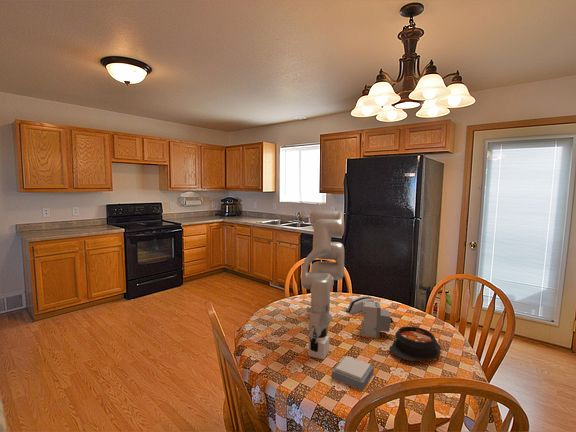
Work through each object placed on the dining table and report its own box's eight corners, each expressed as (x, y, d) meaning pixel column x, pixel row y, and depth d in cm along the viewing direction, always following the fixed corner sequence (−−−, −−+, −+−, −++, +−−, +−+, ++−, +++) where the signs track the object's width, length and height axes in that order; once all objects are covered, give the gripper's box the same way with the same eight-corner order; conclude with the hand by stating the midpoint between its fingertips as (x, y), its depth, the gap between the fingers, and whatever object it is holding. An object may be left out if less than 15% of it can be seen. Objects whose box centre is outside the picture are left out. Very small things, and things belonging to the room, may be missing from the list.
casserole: (414, 335, 146) (415, 319, 146) (451, 354, 131) (453, 335, 130) (378, 349, 133) (379, 331, 132) (415, 372, 118) (417, 351, 117)
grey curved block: (367, 306, 183) (371, 292, 179) (372, 311, 179) (376, 297, 175) (345, 310, 175) (349, 297, 171) (349, 316, 171) (354, 302, 167)
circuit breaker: (392, 339, 142) (394, 309, 141) (361, 336, 145) (363, 306, 144) (390, 332, 150) (392, 303, 148) (361, 329, 153) (362, 300, 151)
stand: (331, 378, 113) (332, 368, 112) (344, 363, 123) (344, 353, 122) (362, 390, 106) (363, 380, 106) (373, 373, 116) (374, 363, 116)
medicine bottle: (329, 351, 131) (329, 325, 130) (323, 360, 125) (324, 332, 123) (313, 347, 134) (314, 322, 133) (307, 355, 128) (308, 328, 126)
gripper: (321, 298, 137) (320, 335, 138) (301, 311, 122) (300, 352, 124) (336, 302, 132) (335, 340, 134) (317, 316, 118) (316, 358, 120)
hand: (318, 346), depth 129 cm, fingers closed on medicine bottle, 7 cm apart
